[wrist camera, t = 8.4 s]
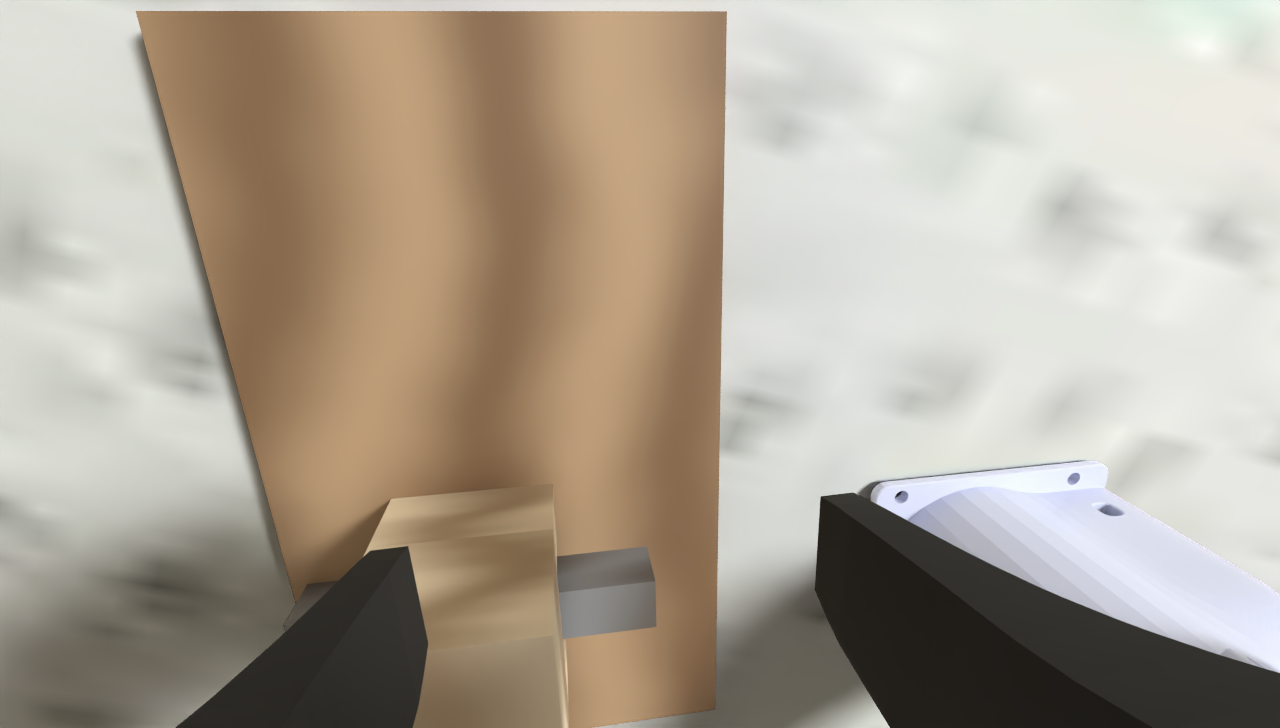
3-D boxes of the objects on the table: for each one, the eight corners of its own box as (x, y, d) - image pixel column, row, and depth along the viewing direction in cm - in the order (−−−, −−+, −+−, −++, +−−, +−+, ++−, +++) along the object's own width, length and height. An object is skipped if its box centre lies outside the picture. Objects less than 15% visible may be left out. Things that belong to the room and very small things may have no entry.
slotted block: (553, 483, 19) (552, 635, 13) (566, 645, 21) (572, 841, 15) (391, 498, 18) (310, 666, 12) (422, 664, 21) (367, 875, 14)
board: (716, 20, 16) (747, -8, 14) (708, 688, 24) (727, 752, 21) (162, 21, 15) (76, -11, 12) (348, 739, 22) (320, 816, 20)
